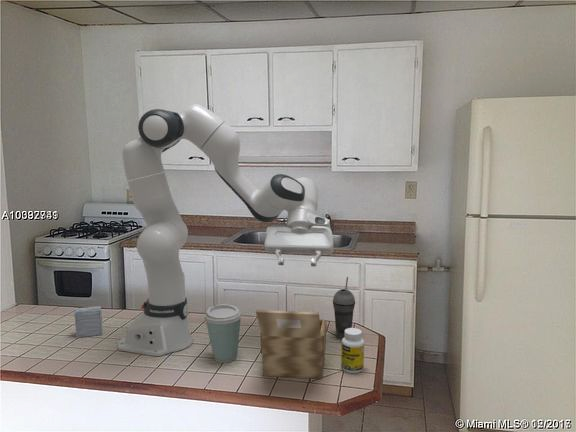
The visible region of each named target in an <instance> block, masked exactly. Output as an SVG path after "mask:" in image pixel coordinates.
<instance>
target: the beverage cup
mask: <svg viewBox="0 0 576 432" xmlns="http://www.w3.org/2000/svg"><path fill="white" fill-rule="evenodd" d="M348 282H349V277H348V276H346V280H345V287H344V288H342V289H338V291H336V292H335V294H334V295H333V298H332V306H333V310H334V324H335V333H336V334H335V335H336V338H338V339H340V340H342V339H343V338H344V337H345V335H344V332H345V329H348V328H353V319H354V318H353V317H354V310H355V307H356V305H355V304H356V298H355V296H354V294H353V292H352V291H350V290H349V289H348Z"/></svg>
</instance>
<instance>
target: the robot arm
mask: <svg viewBox="0 0 576 432" xmlns="http://www.w3.org/2000/svg"><path fill="white" fill-rule="evenodd" d="M137 130H138V133H139V134H138V135H139V136H140V137H139V138H137V139H134V140H131V141H129V142H128V143H126V144H125V145H124V147H123V148H122V161H123V162H122V163H123V169H124V173H125V178H126V181H127V185H128V188H129V191H130V194H131V199H132V201H133V206H134V207H135V209H136V210H137V211H138V212H139V213H140V215H141V217H142V218H143V220H144V223H145V224H146V226H147V227H145V229H143V231H141V232H140V235H139V237H138V239H137V242H136V250H137V253H138V255H139V256H140V257H141V259H142V263H143V266H144V270H145V274H146V279H147V295H148V296H147V297H148V298H147V299H146V301H144V302H143V304H142V305H140V308H141V309H140V310H143V312H142V313H140V314H139V315H138V316H137V317H136V318H134V319H133V320H132V321H131V322H130V323H129V324H128V326H127V328H126V331H125V335H124V337H123V338H121V339H120V340H119V342H118V344H117V349H118V351H122V352H128V353H134V354H141V355H147V356H152V357H153V356H154V357H161V356H165V355H167V354H169V353H174V352H178V351H181V350H184V349H186V348H189V347H190V346H191V345H192V343H193V341H194V340H193V338H192V335H191V331H190V327H189V322H188V312H189V311H188V309H189V307H188V299H187V297H186V286H185V285H186V283H185V272H184V271H183V268H182V265H181V260H180V254H179V253H180V250H181V248H183V246H184V245H185V244H186V242H187V240H188V234H189V229H188V227H187V224H186V223H185V222H184V221H183V218H182V216H181V214H180V211H179V210H178V207H177V206H176V203H175V202H174V201H175V200H174V199H173V197H172V193H171V189H170V185H169V183H168V180H167V176H166V172H165V169H164V166H163V162H162V154H163V153H164V152H166V151H167V150H169V149H171V148H172V147H174V146H176V145H177V144H178V143H179V142H180V141H181V140H187V141H188V142H190V143H192V144H193V145H194V146H196V147H197V148H198V149H199V150H200V151H201V152H202V153H203V154H204V155H205V156H206V157H207V158H208V160H209V161H210V162H211V163H212V164H213V166H214V170H215V172H216V174H217V175H218V177H219V178H220V179H221V180H222V181H223V182H224V183H225V184H226V186H228V188H230V189H231V191H232V192H233V193H234V194H235V195H236V196H237V197H238V198H239V199H240V201H242V202H243V204H244V205H245V206H246V207H247V209H248V210H249V212H250V214H251V215H252V216H253V218H255V219H256V220H258V221H260V222H263V223H272V222H274V221H276V220H277V219H278V217H279V216H280V215H281V213H282V212H284V211H286V212H287V219H286V223H285V224H283V223H281V224H277V223H273V224H271V225H269V226H268V227H267V228H266V231H265V235H266V237H265V239H264V243H263V244H264V248H265V251H266V252H267V253H268V254H269V253H270V254H275V256H276V258H277V259H278V260H277V264H278V266H284V264H285V258H284V257H281V256H282V254H298V255H299V254H301V255H305V254H306V255H310V254H311V255H315V256H314V257H313V258H310V266H311V267H317V263H318V261H319V260H320V259H321V257H322V255H332V254H334V238H333V237H334V236H333V231H332V228H331V222H330V219H328V218H325V217H322V216H320V215H317V213H316V212H317V210H318V206H319V204H318V203H319V191H318V187H317V185H316V183H315V181H313V179H311V178H309V177H306V176H305V177H303V176H301V177H297V178H295V177H294V178H293V177H291V176H289V175H287V174H283V173H277V174H275V175H273V176H272V177H271V178H270V179H269V180H268V181H267V182H266V183H265V184H264V185H263V186H262V188H261V189H258V188H256V186H255V185H254V184H253V183H252V182H251V181H250V180H249V179H248V178H247V177H246V176H245V174H244V173H242V171H241V169H240V166H239V156H240V150H241V141H240V140H241V139H240V136H239V135H238V133H237V132H236V130H235V129H234V128H232V127H231V125H230V124H228V123H227V122H226V121H225V120H223V119H222V118H221V117H220V116H219V115H217V114H215V112H212V110H210V109H208V108H206V107H205V106H203V105H202V104H199V103H193V104H190V105H188V106H187V107H185V108H184V109H183V110H182V111H181V112H180V113H178V112H175V111H170V110H165V109H162V108H161V109H160V108H154V109H150V110H148V111H146V112H145V113H143V114H142V116H141V117H140V119H139V121H138V128H137Z"/></svg>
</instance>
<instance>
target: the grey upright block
mask: <svg viewBox="0 0 576 432" xmlns="http://www.w3.org/2000/svg"><path fill="white" fill-rule="evenodd" d="M74 322H75V323H74V324H75V332H76V334H75V335H76V339H79V338H87V337H93V336H95V337H96V336H100V335H103V332H104V328H103V327H104V326H103V314H102V306H101V305H98V306H97V305H95V306H90V307H89V306H88V307H79V308H75V311H74Z"/></svg>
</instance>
